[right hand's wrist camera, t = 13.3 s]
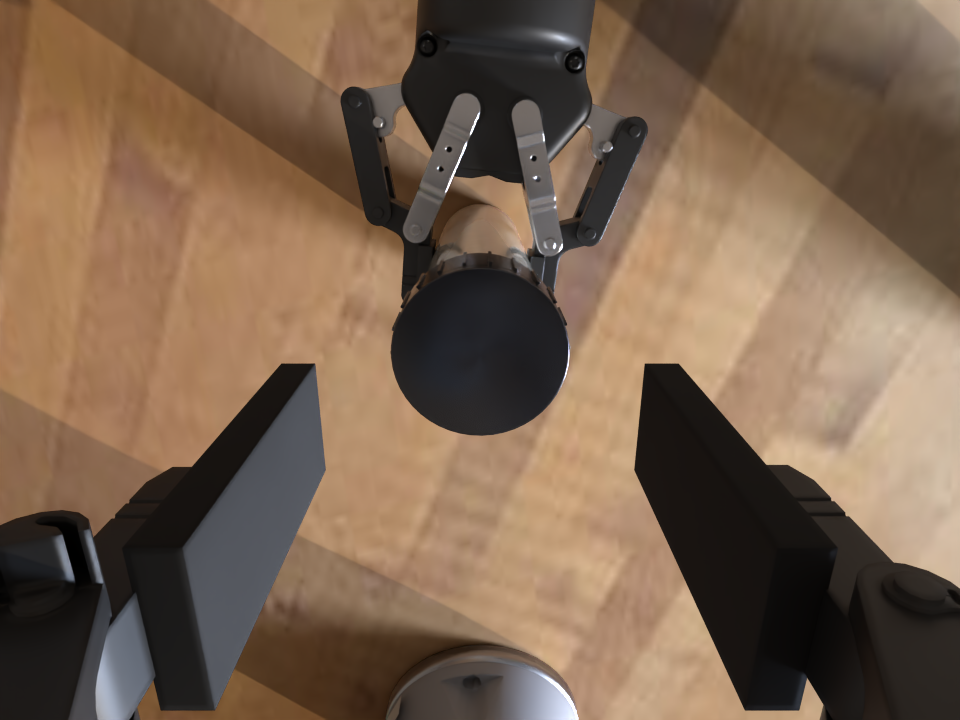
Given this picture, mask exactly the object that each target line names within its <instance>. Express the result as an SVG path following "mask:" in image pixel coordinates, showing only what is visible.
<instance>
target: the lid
mask: <svg viewBox="0 0 960 720" xmlns="http://www.w3.org/2000/svg"><path fill="white" fill-rule="evenodd" d="M556 303H557V301H556V299H555V297H554V294H553V292H552V290H551V288H550V287H546V285H545V284H544V283H543V281H542V280H541V279H540V278H539V277H538V276H537V274H536V271H535V270H534V269H532V271H531V270H530V269H529V268H527V267H526V266H524V265H523V264H521V263H519V262H517V261H516V260H515V258H514V257H512V258H508V257H504V256H501V255H496V254H492V252H491V251H488V253H470V254H467V252H464V253H463V255H459V256H456V257H453V258H450V259H447V260H445V261H444V259H442V260H441V261H440V264H438V265H436V266H435V267H433V268H432V269H430V270H429V271H428V272H427V273H426V274H424V273H422V274H421V276H420V278H419V281H418V282H417V283H416V284H415V286H414V287H413V289H412V290H411V292H410V291H408V292H407V294H406V296H405V298H404V300H403V303H402V305H401V308H403V309H402V311H401V312H399V314H398V317H397V319H396V321H395V323H394V325H393V328H392V331H394V332H393V336H392V343H391V360H392V367H393V371H394V374H395V378H396V380H397V383H398V385H399V387H400V389H401V391H402V392H403V394H404V396H405V397H406V399H407V400H408V401H409V402H410V404H411V405H412V406H413V407H414V408H415V409H416V410H417V411H418V412H419V413H420V414H421V415H423V416H424V417H425V418H427V419H428V420H429V421H431V422H433V423H435V424H436V425H438V426H440V427H442V428H445V429H447V430H450V431H453V432H457V433H461V434H467V435H480V436H483V435H494V434H499V433H504V432H507V431H510V430H513V429H516V428H518V427H520V426H522V425H524V424H526V423H528V422H529V421H531V420H532V419H534V418H535V417H536V416H538V415H539V414H540V413H541V412H543V411H544V409H545V408H546V407H547V406H548V405H549V404H550V403H551V402H552V400H553V399H554V398H555V396H556V395H557V393H558V391H559V390H560V388H561V386H562V384H563V381H564V379H565V376H566V372H567V368H568V363H569V349H570V345H569V340H568V334H567V330H566V327H565V326H566V325H567V323H566V320H565V318H564V316H563V314H562V312H561V309H560V307H558V308H557V305H556Z"/></svg>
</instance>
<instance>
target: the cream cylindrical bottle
mask: <svg viewBox="0 0 960 720" xmlns="http://www.w3.org/2000/svg"><path fill="white" fill-rule="evenodd" d="M488 251H491V252H492V254H496V255H501V256H504V257H508V258H512V257H514V258H515V260H516V261H517V262H519V263H521V264H523V265H524V266H526V267H527V268H529V269H530V270H531V271H532V267H531V265H530V262H529V259H528V257H527V254H526V252H525V249H524V247H523V244H522V241H521V239H520V236H519V234H518V231H517V229H516V226H515V224H514V223H513V221H512V220H511V219H510V217H509V216H508V215H507V214H506V213H504V212H503V211H501V210H500V209H498V208H496V207H494V206H490V205H486V204H474V205H470V206H467V207H464V208H462V209H460V210H459V211H457V212H456V213H455V214H454V215H452V216H451V218H450V219H449V220H448V221H447V223H446V225H445V227H444V229H443V232H442V234H441V237H440V239H439V242H438V245H437V247H436V250H435V252H434V255H433V257H432V260H431V263H430V265H429V268H428V270H427V272H428V271H429V270H430V269H432V268H433V267H435V266H436V265H438V264H440V261H441V260H442V259H444V261H445V260H447V259H450V258H453V257H456V256H459V255H463V253H464V252H467V254H470V253H488Z"/></svg>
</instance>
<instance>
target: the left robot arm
mask: <svg viewBox="0 0 960 720" xmlns="http://www.w3.org/2000/svg"><path fill="white" fill-rule="evenodd" d="M594 7H595V0H418V9H417V26H416V44H415V52H414V56H413V59H412V61H411V64H410V66H409V68H408V69H407V71H406V72H405V74H404V76H403V79H402V83H398V84H392V85H386V86H381V87H375V88H369V89H363V88H360V87H349V88H347V89H346V90H345V91H344V92H343V93H342V96H341V106H342V111H343V115H344V120H345V124H346V129H347V134H348V138H349V143H350V147H351V152H352V156H353V161H354V165H355V170H356V175H357V179H358V184H359V188H360V193H361V197H362V202H363V207H364V211H365V215H366V218H367V220H368V221H369V222H370V223H371V224H373V225H376V226H383V227H386V228H388V229H390V230H392V231H394V232H396V233H397V234H398V235H399V236H400V237H401V238H402V240H403V243H404V259H403V277H402V293H401V296H402V299H403V300H404V298H405V296H406V294H407V292H408V291H410V292H411V290H412V289H413V287H414V286H415V284H416V283H417V282H418V281H419V278H420V276H421V274H422V273H424V274H426V273H427V270H428V268H429V265H430V263H431V260H432V257H433V255H434V252H435V246H436V239H432V232H433V224H434V221H435V219H436V217H437V214H438V212H439V210H440V207H441V205H442V203H443V200H444V198H445V196H446V194H447V191H448V189H449V187H450V184H451V182H452V180H453V177H454V175H455V176H456V177H465V178H475V177H481V176H487V175H490V176H493V177H495V178H498V179H500V180H503V181H505V182H513V183H521V184H522V189H523V194H524V199H525V203H526V207H527V211H528V216H529V221H530V226H531V231H532V236H533V246H532V249H529V248H528V250H527V257H528V259H529V262H530V265H531V267H532V269H534V270H535V271H536V274H537V276H538V277H539V278H540V279H541V280H542V281H543V283H544V284H545V285H546V287H550V288H551V290H552V292H553V294H554V289H555V283H556V276H557V269H558V263H559V259H560V257H561V256H562V255H563V254H564V253H565V252H566V251H568V250H570V249H574V248H577V247H581V246H594V245H596V244H597V243H599V242H600V240H601V238H602V236H603V234H604V232H605V229H606V227H607V225H608V223H609V220H610V218H611V216H612V213H613V211H614V209H615V207H616V204H617V202H618V200H619V198H620V195H621V193H622V191H623V188H624V186H625V184H626V182H627V179H628V177H629V175H630V172H631V170H632V168H633V166H634V163H635V161H636V159H637V157H638V154H639V152H640V150H641V147H642V145H643V143H644V141H645V138H646V136H647V132H648V127H647V124H646V122H645V121H644V120H643V119H642V118H640V117H623V116H621V115H618V114H616V113H613V112H611V111H608V110H606V109H604V108H601V107H599V106H596V105H594V104H592V97H591V93H590V90H589V88H588V84H587V79H586V62H587V55H588V48H589V41H590V34H591V27H592V20H593V14H594ZM404 106H406V107H407V109H408V111H409V112H410V114H411V116H412V117H413V119H414V121H415V123H416V124H417V126H418V128H419V130H420V131H421V133H422V135H423V137H424V138H425V140H426V142H427V143H428V145H429V147H430V149H431V150H432V152H433V153H432V156H431V158H430V161H429V163H428V166H427V168H426V170H425V173H424V175H423V178H422V180H421V183H420V185H419V188H418V191H417V194H416V196H415V199H414V201H413V204H412V206H409V205H407V204H405V203H403V202H401V201H398V200H396V195H395V190H394V185H393V180H392V175H391V170H390V165H389V160H388V155H387V150H386V145H385V140H384V137H386V136H389V135H391V134H392V133H393V132H394V130H395V127H396V115H397V113H398V111H399V110H400V109H401V108H402V107H404ZM582 126H585V127H586V128H587V130H588V131H589V135H590V140H589V144H588V150H589V153H590V155H591V156H592V157H593V158H595V159H597V161H596V163H595V165H594V168H593V170H592V173H591V175H590V177H589V180H588V182H587V185H586V187H585V189H584V192H583V194H582V197H581V199H580V201H579V204H578V206H577V208H576V211H575V213H574V216H573V218H570V219H566V220H562V221H559V220H558V214H557V209H556V199H555V193H554V187H553V182H552V177H551V171H550V166H549V163H550V162H551V161H552V160H553V159H554V158H555V157H556V155H557V154H558V153H559V152H560V151H561V150H562V149H563V148H564V146H565V145H566V144H567V143H568V142H569V141H570V140H571V139H572V137H573V136H574V135H575V134H576V133H577V132H578V131H579V130H580V128H581V127H582Z"/></svg>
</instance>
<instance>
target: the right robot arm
mask: <svg viewBox="0 0 960 720" xmlns="http://www.w3.org/2000/svg"><path fill="white" fill-rule="evenodd" d="M325 470H326V469H325V459H324V448H323V438H322V428H321V418H320V408H319V398H318V388H317V377H316V367H315V364H281V365H280V366H279V367H278V368H277V369H276V371H275V372H274V373H273V374H272V375H271V376H270V377H269V379H268V380H267V381H266V382H265V383H264V384H263V386H262V387H261V388H260V389H259V390H258V391H257V392H256V394H255V395H254V396H253V397H252V398H251V399H250V401H249V402H248V403H247V404H246V405H245V406H244V407H243V409H242V410H241V411H240V412H239V413H238V414H237V416H236V417H235V418H234V419H233V420H232V421H231V422H230V424H229V425H228V426H227V427H226V428H225V429H224V431H223V432H222V433H221V434H220V435H219V436H218V437H217V439H216V440H215V441H214V442H213V443H212V444H211V446H210V447H209V448H208V449H207V450H206V451H205V452H204V454H203V455H202V456H201V457H200V458H199V459H198V461H197V462H196V463H195V464H194V465H193V466H192V467H172V468H170V469H168V470H167V471H165V472H163V473H161V474H160V475H158V476H156V477H155V478H153V479H151V480H149V481H148V482H146V483H145V484H144V485H143V486H142V487H141V488H140V490H139V491H138V492H137V493H136V494H135V495H134V496H133V497H132V498H131V499H130V500H129V501H130V502H129V504H125V505H124V506H123V507H122V508H121V509H120V510H119V511H118V512H117V514H116V515H115V519H111V520H110V521H109V522H108V523H107V524H106V525H105V526H104V527H103V528H102V529H101V530H100V531H99V532H98V533H97V534H96V535H95V536H94V538H93V535H92V531H91V527H90V523H89V519H88V518H86V517H85V516H83V515H82V514H80V513H78V512H71V511H64V510H59V511H49V512H40V513H36V514H32V515H28V516H24V517H20V518H17V519H14V520H12V521H9V522H7V523H4V524H2V525H0V720H140V717H139V713H138V709H137V706H138V705H139V703H140V701H141V700H142V698H143V696H144V695H145V693H146V691H147V690H148V688H149V686H150V684H151V683H152V681H153V680H154V684H155V688H156V692H157V697H158V701H159V705H160V709H161V710H215V709H216V707H217V705H218V703H219V701H220V699H221V696H222V694H223V692H224V690H225V688H226V685H227V683H228V681H229V679H230V677H231V675H232V672H233V670H234V668H235V666H236V664H237V662H238V659H239V657H240V655H241V653H242V651H243V649H244V646H245V644H246V642H247V640H248V638H249V635H250V633H251V631H252V629H253V627H254V625H255V622H256V620H257V618H258V616H259V614H260V612H261V609H262V607H263V605H264V603H265V601H266V599H267V596H268V594H269V592H270V590H271V588H272V585H273V583H274V581H275V579H276V577H277V575H278V572H279V570H280V568H281V566H282V564H283V562H284V559H285V557H286V555H287V553H288V551H289V549H290V546H291V544H292V542H293V540H294V538H295V536H296V533H297V531H298V529H299V527H300V525H301V522H302V520H303V518H304V516H305V514H306V512H307V509H308V507H309V505H310V503H311V501H312V499H313V496H314V494H315V492H316V490H317V488H318V486H319V483H320V481H321V479H322V477H323V475H324V472H325ZM634 470H635V472H636V475H637V477H638V479H639V481H640V483H641V486H642V488H643V490H644V492H645V494H646V496H647V499H648V501H649V503H650V505H651V507H652V509H653V512H654V514H655V516H656V518H657V520H658V522H659V525H660V527H661V529H662V531H663V533H664V536H665V538H666V540H667V542H668V544H669V546H670V549H671V551H672V553H673V555H674V557H675V559H676V562H677V564H678V566H679V568H680V570H681V572H682V575H683V577H684V579H685V581H686V583H687V585H688V588H689V590H690V592H691V594H692V596H693V599H694V601H695V603H696V605H697V607H698V609H699V612H700V614H701V616H702V618H703V620H704V622H705V625H706V627H707V629H708V631H709V633H710V635H711V638H712V640H713V642H714V644H715V646H716V649H717V651H718V653H719V655H720V657H721V659H722V662H723V664H724V666H725V668H726V670H727V672H728V675H729V677H730V679H731V681H732V683H733V685H734V688H735V690H736V692H737V694H738V696H739V699H740V701H741V703H742V705H743V707H744V709H745V710H799V709H800V705H801V701H802V697H803V692H804V688H805V684H806V680H807V678H808V680H809V681H810V683H811V685H812V686H813V688H814V690H815V691H816V693H817V695H818V696H819V698H820V700H821V701H822V703H823V709H822V713H821V717H820V720H960V588H958V587H957V586H956V585H954V584H953V583H951V582H950V581H948V580H946V579H944V578H942V577H940V576H938V575H935V574H933V573H931V572H929V571H927V570H923V569H920V568H917V567H913V566H910V565H907V564H901V563H894V562H893V561H892V560H891V559H890V558H889V557H888V556H887V555H886V554H885V553H884V552H883V551H882V550H881V549H880V548H879V547H878V546H877V545H876V544H875V543H874V542H873V541H872V540H871V539H870V538H869V537H868V536H867V535H866V534H865V532H864V531H863V530H862V529H861V528H860V527H859V526H858V525H857V524H856V523H855V522H854V521H853V520H852V519H851V518H850V517H849V516H846V515H845V512H844V511H843V510H842V509H841V508H840V507H839V506H838V505H837V504H836V502H835V501H831V497H830V496H829V495H828V494H827V493H826V492H825V491H824V490H823V489H822V488H821V487H820V486H819V485H818V484H817V483H816V482H815V481H814V480H813V479H811V478H809V477H808V476H806V475H804V474H802V473H801V472H799V471H797V470H796V469H794V468H792V467H790V466H789V465H766V464H765V463H764V462H763V461H762V459H761V458H760V457H759V456H758V455H757V454H756V452H755V451H754V450H753V449H752V448H751V447H750V446H749V444H748V443H747V442H746V441H745V440H744V439H743V437H742V436H741V435H740V434H739V433H738V432H737V431H736V429H735V428H734V427H733V426H732V425H731V424H730V422H729V421H728V420H727V419H726V418H725V417H724V416H723V414H722V413H721V412H720V411H719V410H718V409H717V407H716V406H715V405H714V404H713V403H712V402H711V401H710V399H709V398H708V397H707V396H706V395H705V394H704V392H703V391H702V390H701V389H700V388H699V387H698V386H697V384H696V383H695V382H694V381H693V380H692V379H691V377H690V376H689V375H688V374H687V373H686V372H685V371H684V369H683V368H682V367H681V366H680V365H679V364H645V367H644V377H643V388H642V398H641V408H640V418H639V428H638V438H637V448H636V459H635V469H634ZM386 720H578V716H577V710H576V704H575V700H574V697H573V695H572V692H571V690H570V689H569V687H568V685H567V684H566V682H565V681H564V680H563V678H562V677H561V676H560V675H559V674H558V673H557V672H556V671H555V670H554V669H553V668H551V667H550V666H549V665H547V664H546V663H544V662H543V661H541V660H539V659H538V658H536V657H534V656H531V655H529V654H527V653H524V652H521V651H518V650H515V649H511V648H506V647H501V646H491V645H473V646H464V647H458V648H453V649H449V650H446V651H442V652H440V653H437V654H435V655H432V656H430V657H428V658H426V659H424V660H423V661H421V662H419V663H418V664H417V665H415V666H414V667H412V668H411V669H410V670H409V671H408V672H407V673H406V674H405V675H404V676H403V677H402V678H401V679H400V680H399V682H398V683H397V685H396V686H395V688H394V690H393V692H392V694H391V696H390V699H389V703H388V707H387V714H386Z"/></svg>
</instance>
